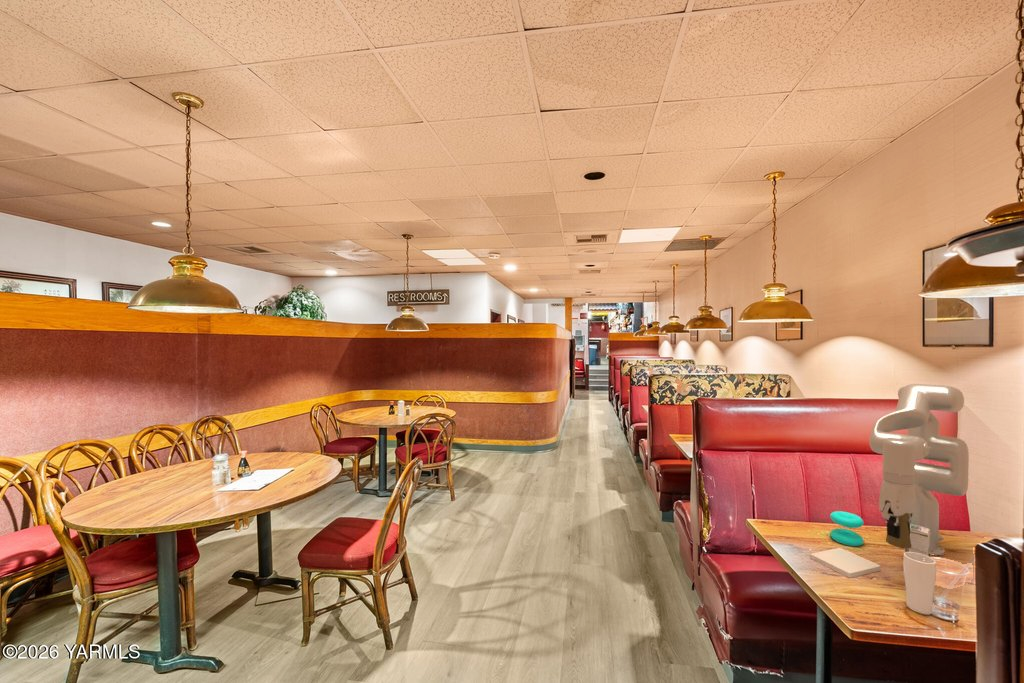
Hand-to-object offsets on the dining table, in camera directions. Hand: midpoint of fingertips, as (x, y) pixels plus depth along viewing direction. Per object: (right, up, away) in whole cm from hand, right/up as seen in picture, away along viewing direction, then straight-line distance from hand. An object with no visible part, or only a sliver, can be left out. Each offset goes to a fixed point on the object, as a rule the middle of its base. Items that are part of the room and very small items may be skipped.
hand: (898, 534), depth 133 cm
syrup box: (+13, -16, +7) cm, 22 cm away
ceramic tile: (-8, -15, +11) cm, 21 cm away
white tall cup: (-6, -16, -13) cm, 21 cm away
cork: (0, -3, 0) cm, 3 cm away
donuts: (+6, -16, +28) cm, 33 cm away
